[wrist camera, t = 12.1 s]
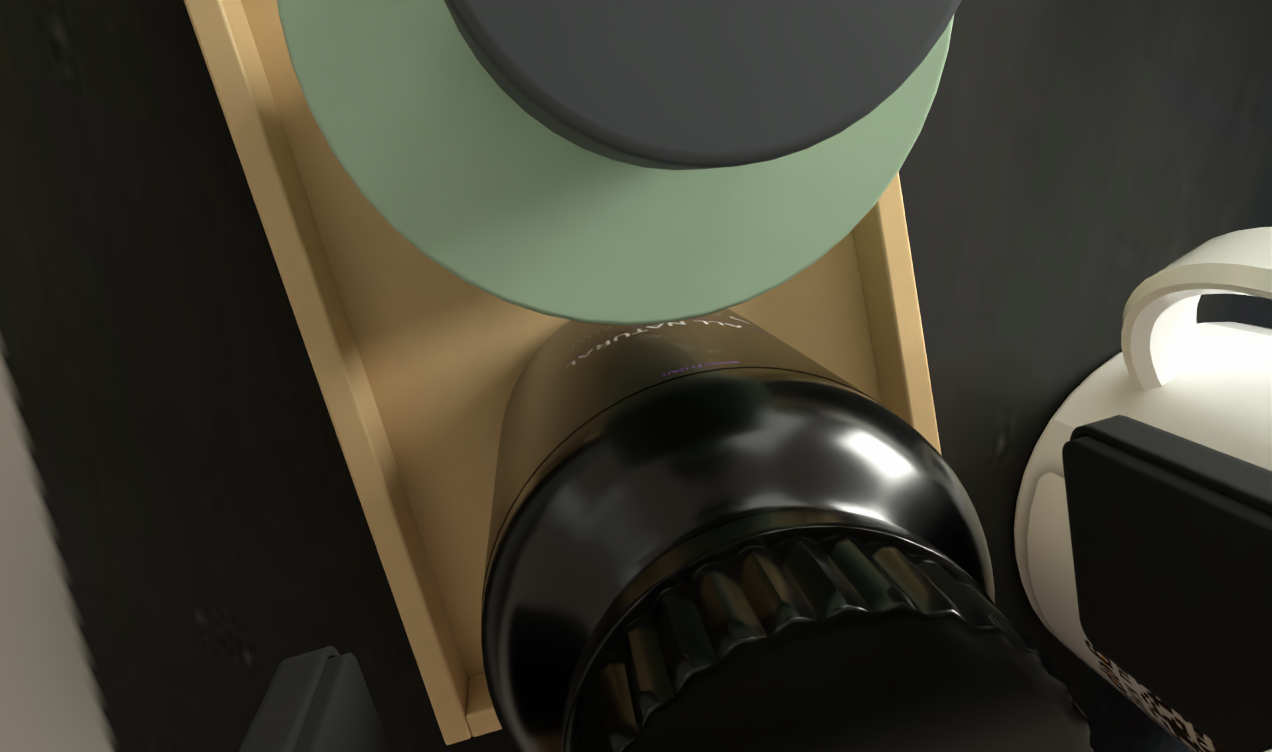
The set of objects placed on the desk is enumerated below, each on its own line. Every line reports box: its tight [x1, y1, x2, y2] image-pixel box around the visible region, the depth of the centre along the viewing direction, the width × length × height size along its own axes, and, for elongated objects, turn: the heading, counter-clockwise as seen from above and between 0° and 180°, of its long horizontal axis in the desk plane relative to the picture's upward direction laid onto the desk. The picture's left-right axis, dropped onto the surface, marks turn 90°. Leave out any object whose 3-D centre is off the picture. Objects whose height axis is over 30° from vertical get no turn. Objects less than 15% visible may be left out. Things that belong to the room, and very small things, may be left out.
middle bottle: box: [277, 0, 961, 326], centre depth 10 cm, size 6×6×13 cm
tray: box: [184, 0, 941, 745], centre depth 16 cm, size 12×25×2 cm, turn 13°
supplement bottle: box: [481, 309, 1094, 752], centre depth 13 cm, size 7×7×12 cm
